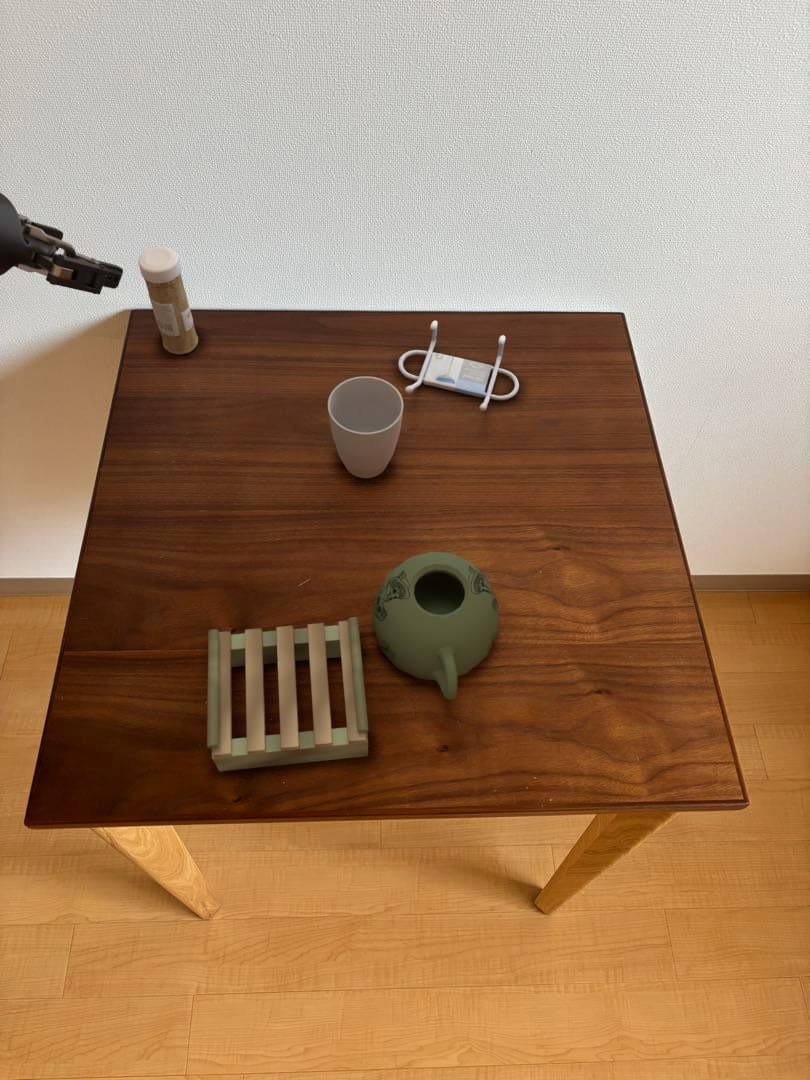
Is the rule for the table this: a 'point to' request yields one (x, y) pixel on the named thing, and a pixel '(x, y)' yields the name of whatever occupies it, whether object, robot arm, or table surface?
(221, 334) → the table surface
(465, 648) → the olive green ceramic pot
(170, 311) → the sprinkles bottle
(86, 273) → the robot arm
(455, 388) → the wall mount rack
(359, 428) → the cup
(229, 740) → the drying rack
